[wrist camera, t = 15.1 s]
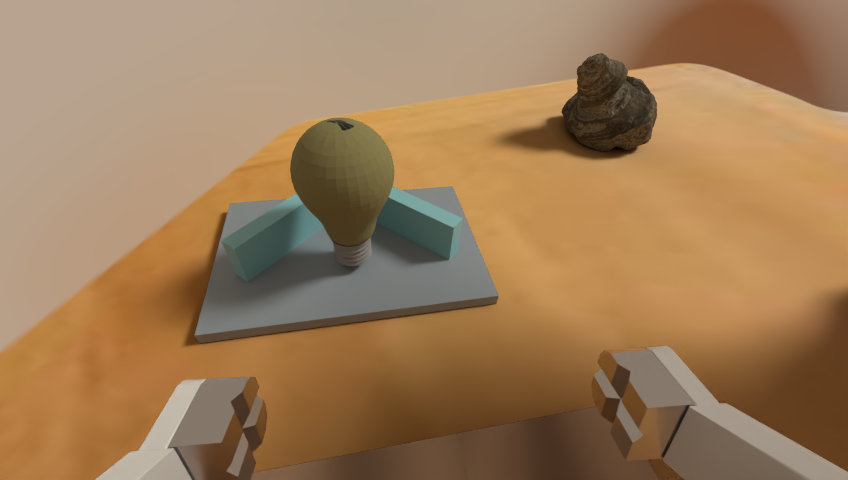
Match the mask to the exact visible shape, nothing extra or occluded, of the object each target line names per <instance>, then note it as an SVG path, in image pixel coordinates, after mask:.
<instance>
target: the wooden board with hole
mask: <svg viewBox="0 0 848 480" xmlns="http://www.w3.org/2000/svg"><path fill="white" fill-rule="evenodd" d="M611 426H612V423H611V422H609V421H608V420H607V419H605V418H604V417H603V416H601V415H600V413H599V411H598V409H597V407H591V408H585V409H580V410H575V411H570V412H565V413H560V414H554V415H549V416H544V417H539V418H534V419H529V420H523V421H518V422H513V423H508V424H503V425H498V426H492V427H487V428H482V429H477V430H472V431H467V432H461V433H456V434H451V435H446V436H441V437H436V438H430V439H425V440H420V441H415V442H410V443H405V444H399V445H394V446H389V447H384V448H379V449H374V450H368V451H363V452H358V453H353V454H348V455H342V456H337V457H332V458H327V459H322V460H317V461H311V462H306V463H301V464H296V465H291V466H286V467H280V468H275V469H270V470H265V471H260V472H255V473H253V474H252V477H251V480H659V478H658V477H657V475H656V473H655V471H654V469H653V468H652V466H651V464H650V462H649V460H631V461H625V459H624V457H623V455H622V454H621V452H620V450H619V448H618V446H617V444H616V443H615V441H614V439H613V437H612V435H611V433H610V431H611Z"/></svg>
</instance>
